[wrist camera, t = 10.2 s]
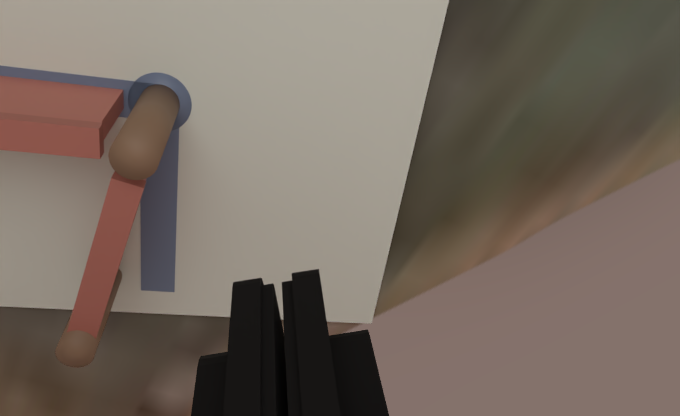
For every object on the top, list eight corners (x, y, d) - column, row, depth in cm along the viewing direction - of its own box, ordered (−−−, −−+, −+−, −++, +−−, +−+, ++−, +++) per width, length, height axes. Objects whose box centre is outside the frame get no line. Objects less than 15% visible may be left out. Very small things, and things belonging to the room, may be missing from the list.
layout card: (-85, 297, 34) (-89, 302, 34) (-200, -181, 23) (-208, -182, 22) (370, 319, 39) (371, 323, 39) (461, -63, 28) (464, -62, 27)
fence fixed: (-99, 93, 28) (-199, 151, 22) (-108, 52, 27) (-215, 101, 21) (179, 123, 30) (158, 182, 24) (180, 86, 29) (159, 138, 23)
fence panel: (133, 126, 30) (102, 183, 24) (167, 138, 30) (145, 197, 24) (87, 282, 34) (51, 362, 28) (118, 290, 34) (89, 370, 29)
